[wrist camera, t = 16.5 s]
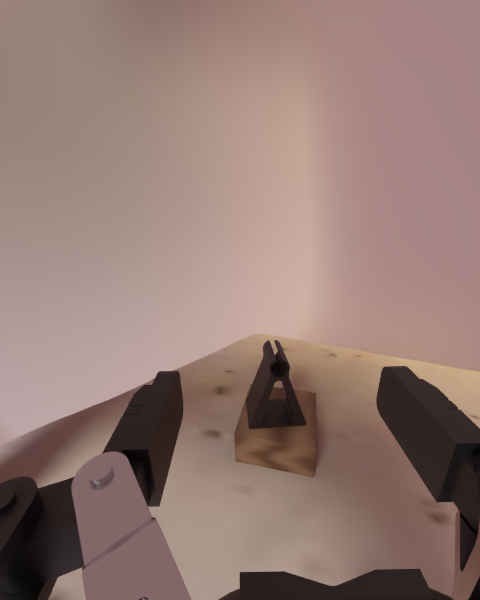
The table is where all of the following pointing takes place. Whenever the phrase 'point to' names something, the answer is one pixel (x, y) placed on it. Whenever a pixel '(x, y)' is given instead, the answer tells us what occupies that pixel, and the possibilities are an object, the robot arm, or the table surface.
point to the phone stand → (258, 402)
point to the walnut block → (280, 439)
